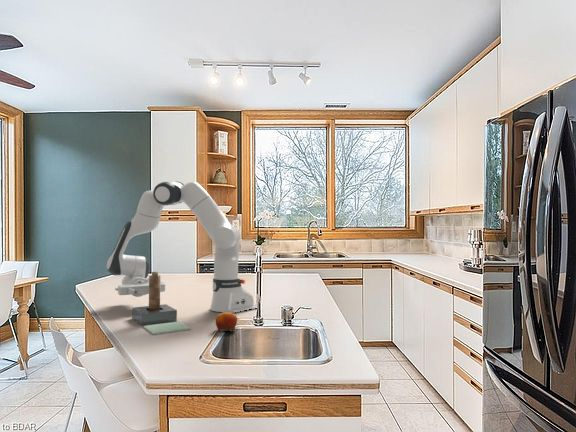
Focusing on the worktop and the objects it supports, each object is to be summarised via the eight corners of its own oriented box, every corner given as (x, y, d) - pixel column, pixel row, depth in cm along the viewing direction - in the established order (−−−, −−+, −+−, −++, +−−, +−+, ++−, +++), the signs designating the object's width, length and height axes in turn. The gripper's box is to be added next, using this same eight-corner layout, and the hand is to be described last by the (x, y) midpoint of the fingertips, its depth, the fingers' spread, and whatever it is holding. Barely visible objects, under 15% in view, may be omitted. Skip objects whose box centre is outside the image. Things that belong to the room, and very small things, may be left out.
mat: (179, 322, 170) (179, 321, 170) (190, 329, 160) (190, 328, 160) (143, 327, 162) (143, 325, 162) (152, 334, 152) (153, 333, 152)
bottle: (157, 318, 177) (158, 271, 177) (161, 320, 174) (161, 272, 174) (147, 319, 175) (147, 271, 175) (150, 321, 171) (151, 272, 171)
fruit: (217, 331, 153) (216, 309, 157) (215, 337, 159) (214, 316, 163) (239, 330, 155) (238, 308, 159) (236, 336, 161) (235, 315, 165)
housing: (165, 314, 184) (165, 304, 184) (176, 321, 172) (176, 310, 172) (132, 318, 176) (132, 307, 176) (141, 325, 165) (141, 314, 165)
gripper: (114, 281, 190) (121, 285, 178) (159, 278, 201) (169, 282, 190) (113, 295, 190) (121, 300, 178) (159, 291, 201) (169, 296, 190)
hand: (146, 291), depth 184 cm, fingers open, 8 cm apart
